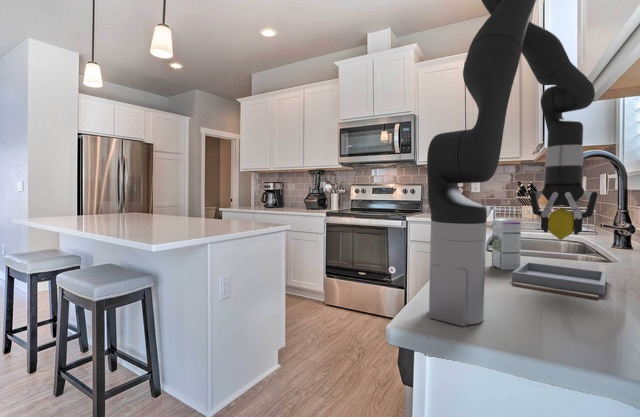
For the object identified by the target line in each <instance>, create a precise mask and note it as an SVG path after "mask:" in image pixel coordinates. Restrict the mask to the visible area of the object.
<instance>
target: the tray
mask: <svg viewBox="0 0 640 417" xmlns="http://www.w3.org/2000/svg"><path fill="white" fill-rule="evenodd" d="M511 273H512V274H511V282H512V283H513V282H519V283H525V284H531V285H538V286H544V287H550V288H556V289H562V290H569V291H575V292H581V293H587V294H594V295H599V297H605V291H606V284H607V273H608V272H607V271H604V270H603V271H602V270H596V269H595V270H594V269H589V268H588V269H587V268H580V267H579V268H578V267H569V266H563V265H555V264H546V263H539V262H529V261H524V263H523V264H520V267H518V268H517V269H516V270H512V272H511Z"/></svg>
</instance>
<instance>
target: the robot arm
mask: <svg viewBox="0 0 640 417" xmlns="http://www.w3.org/2000/svg"><path fill="white" fill-rule="evenodd" d="M480 1H481V3H482V4H483V7H485V9H486V10H487V12H488V13H489V15H490V16H489V17H488V18H487V19H486V20H485V22H484V23H483V24H482V26H481V27H480V29H478V31H477V33H476V34H475V36H474V38H472V40H471V43H470V46H469V49H468V51H467V54H466V58H465V62H464V65H463V68H462V69H463V70H462V78H463V82H464V84H465V86H466V89H467V90H468V92H469V94H470V96H471V97H472V98H473V100H474V103H475V104H476V106H477V110H478V114H477V119H476V122H475V124H474V126H473V128H471V129H470V128H469V129H461V130H454V131H448V132H440V133H438V134H436V135H434V136H433V138H432V139H431V141H430V143H429V145H428V148H427V156H426V157H427V159H426V172H427V200H428V207H429V210H430V241H429V242H430V244H429V246H430V247H429V285H428V286H429V288H428V290H429V293H428V294H429V296H428V297H429V298H428V300H429V301H428V302H429V303H428V306H429V307H428V317H429V318H430V319H433V320H436V321H441V322H444V323H445V322H446V323H448V324H453V325H457V326H460V327H466V326H468V325H476V324H479V323H481V322H483V321H484V317H485V315H484V312H485V311H484V310H485V282H486V281H485V280H486V278H485V275H486V273H485V272H486V244H487V242H486V241H487V217H488V216H487V208H486V207H485V206H484V205H483V204H481V203H478V202H476V201H473V200H471V199H469V198H468V197H466V196H464V195H463V194H462V193H461V192H460V190H459V184H475V183H478V184H479V183H486V182H488V181H490V180H491V179H492V178H493V177H494V175H495V173H496V171H497V169H498V165H499V162H500V157H501V152H502V151H501V150H502V145H503V139H504V138H503V136H504V131H505V130H504V129H505V124H506V123H505V122H506V116H507V111H508V105H509V101H510V96H511V93H512V89H513V85H514V82H515V77H516V75H517V71H518V69H519V68H518V67H519V63H520V60H521V57H522V56H523V57H524V59H525V60H526V62H527V64H528V65H529V68H530V69H531V72H532V74H533V75H534V78H536V81H537V82H538V83H539V84H540V85H541V86H548V87H547V88H546V89H545V90H544V91H543V93H542V94H541V97H540V107H541V111H542V114H543V117H544V121H545V125H546V129H547V145H546V146H547V147H546V148H547V149H546V154H545V168H544V169H545V170H544V186H543V188H542V190H539V191H531V192H530V193H529V198H530V203H531V209H532V214H533V215H536V216H539V217H540V229H541V230H543V233H549V229H548V219H549V216H550V214H551V213H550V212H551V211H552V210H553V208H554V207H559V206H563V207H570V208H571V210H572V212H573V214H574V215H575V216H574V217H575V218H574V220H575V222H574V231H573V235H575V236H576V235H579V233H581V232H582V231H583V220H584V219H585V218H591V217H593V214H594V210H595V207H596V204H597V200H598V196H599V193H598V192H597V191H588V190H585V189H584V188H583V172H584V171H583V169H584V162H585V160H584V152H583V151H584V150H583V145H584V144H583V139H584V138H583V137H584V124H583V123H582V122H581V121H577V120H566V119H564V117H563V113H569V112H574V111H579V110H584V109H587V108H588V107H590V105H591V104H593V101H594V99H595V96H596V92H595V87H594V84H593V83H592V81H591V80H590V79H589V78H588V76H586V75H585V74H584V73H583V72H582V71H581V70H580V69H579V68H578V67H577V66H576V65H575V64H573V63H572V61H571V60H570V57H569V55H568V54H567V51H566V50H565V47H564V45H563V43H562V41H561V40H560V39H559V38H558V37H557V36H556V35H555V34H554V33H552V32H551V31H550V30H548V29H546V28H545V27H544V28H543V27H542V26H540V25H538V24H535V23H533V22H532V21H531V17H532V13H533V10H534V8H535V5H536V2H537V1H538V0H480ZM521 55H522V56H521ZM587 78H588V79H589V80H590V81H591V82H590V81H589V80H588V79H587ZM542 195H543V197H544V198H545V199H546V200H547V203H546V204H545V206H544V208H543V210H540V204H539V200H540V199H542V198H541V196H542ZM583 196H585V199H586V200H587V201H588V204H587V207H586V210H585V211H583V212H582V211H581V209H580V206H579V204H578V201H579V200H580V199H581V198H582V197H583Z"/></svg>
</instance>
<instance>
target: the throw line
mask: <svg viewBox="0 0 640 417" xmlns="http://www.w3.org/2000/svg"><path fill="white" fill-rule="evenodd" d="M511 285H512V286H513V287H520V288H524V289H525V288H526V289H531V290H536V291H537V290H538V291H542V292H543V291H544V292H549V293H555V294H561V295H566V296H567V295H568V296H573V297H579V298H585V299H591V300H597V301H598V300H599V297H600V296H599V295H594V294H587V293H581V292H575V291H569V290H562V289H556V288H550V287H544V286H538V285H531V284H525V283H519V282H512V283H511Z"/></svg>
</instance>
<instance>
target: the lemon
mask: <svg viewBox="0 0 640 417" xmlns="http://www.w3.org/2000/svg"><path fill="white" fill-rule="evenodd" d="M548 217H549V219H548V232H550V234H551V235H553V236H554V237H556V238H557V239H558V240H560V241H561V240H563V239H565V238H566V237H567V238H568V237H569V236H570V235H571V234H573V233H574V222H575V216H574V215H573V213H572V212H570V211H569V210H567V209H565V208H564V207H560V208H558V209H556V210H554V211H552V212H551V213H550V214H549V215H548Z"/></svg>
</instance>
